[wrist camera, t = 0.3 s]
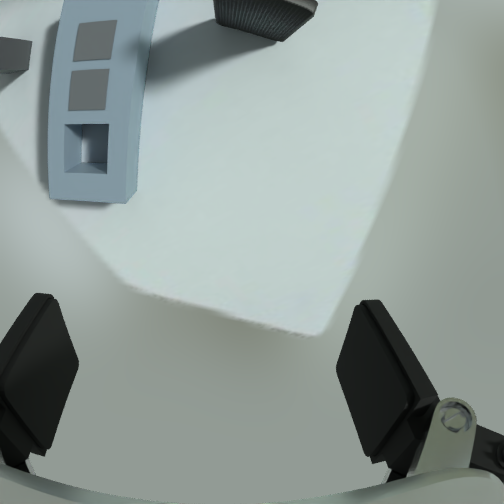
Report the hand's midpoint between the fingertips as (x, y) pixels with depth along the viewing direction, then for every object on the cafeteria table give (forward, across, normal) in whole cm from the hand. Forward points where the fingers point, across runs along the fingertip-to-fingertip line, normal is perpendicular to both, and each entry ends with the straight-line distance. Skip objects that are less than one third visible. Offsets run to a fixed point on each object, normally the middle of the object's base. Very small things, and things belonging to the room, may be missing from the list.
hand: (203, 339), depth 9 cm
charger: (+31, +27, -15) cm, 44 cm away
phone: (+31, -3, -15) cm, 34 cm away
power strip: (+30, +14, -8) cm, 34 cm away
